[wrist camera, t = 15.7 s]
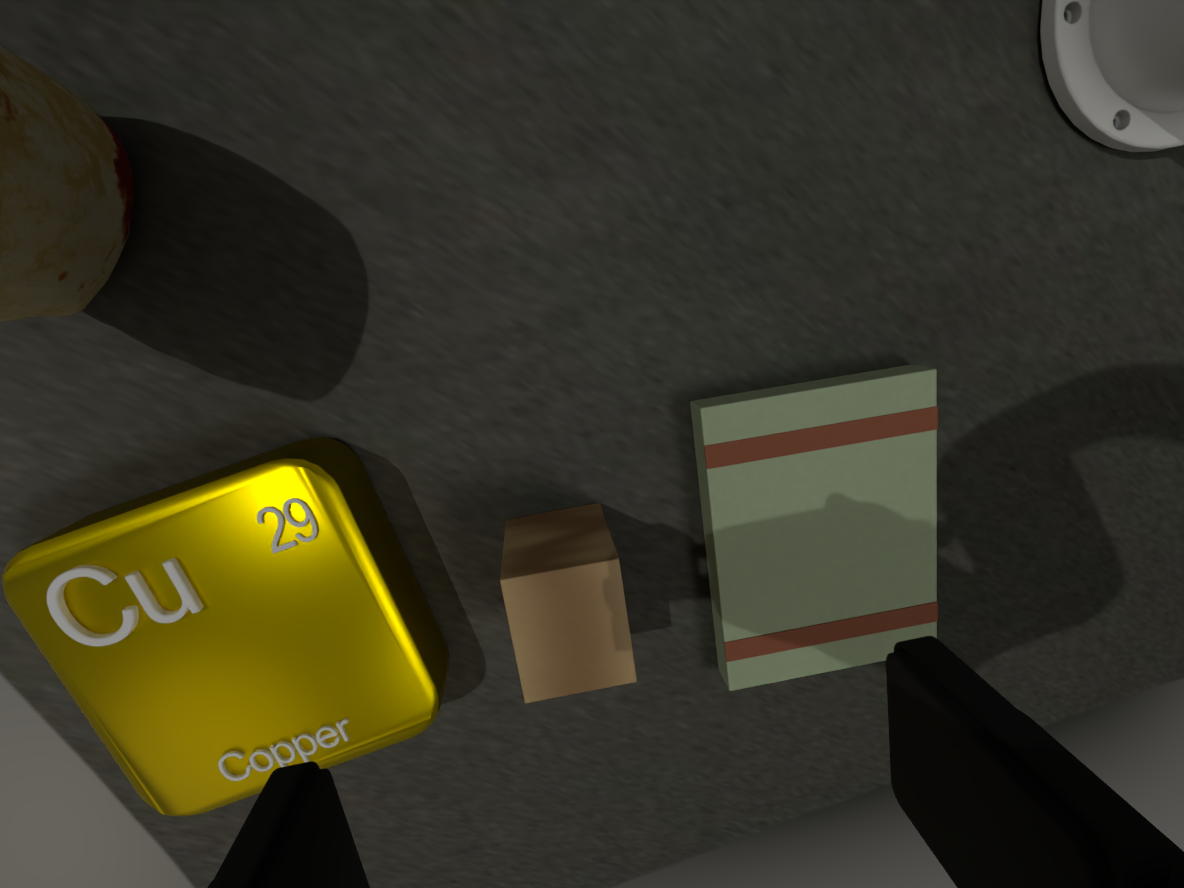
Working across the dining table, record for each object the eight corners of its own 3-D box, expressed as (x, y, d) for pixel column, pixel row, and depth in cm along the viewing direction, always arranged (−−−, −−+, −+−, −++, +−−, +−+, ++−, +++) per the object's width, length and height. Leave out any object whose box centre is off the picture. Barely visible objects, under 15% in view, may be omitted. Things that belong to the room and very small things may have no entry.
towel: (912, 363, 32) (937, 368, 30) (915, 631, 36) (938, 651, 34) (689, 400, 31) (700, 408, 29) (718, 669, 35) (729, 692, 33)
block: (599, 502, 32) (619, 558, 25) (615, 603, 34) (637, 682, 27) (505, 518, 32) (499, 580, 25) (525, 620, 33) (524, 704, 27)
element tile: (204, 765, 33) (152, 841, 29) (53, 526, 30) (-35, 570, 25) (462, 672, 34) (451, 733, 29) (346, 422, 30) (313, 447, 25)
